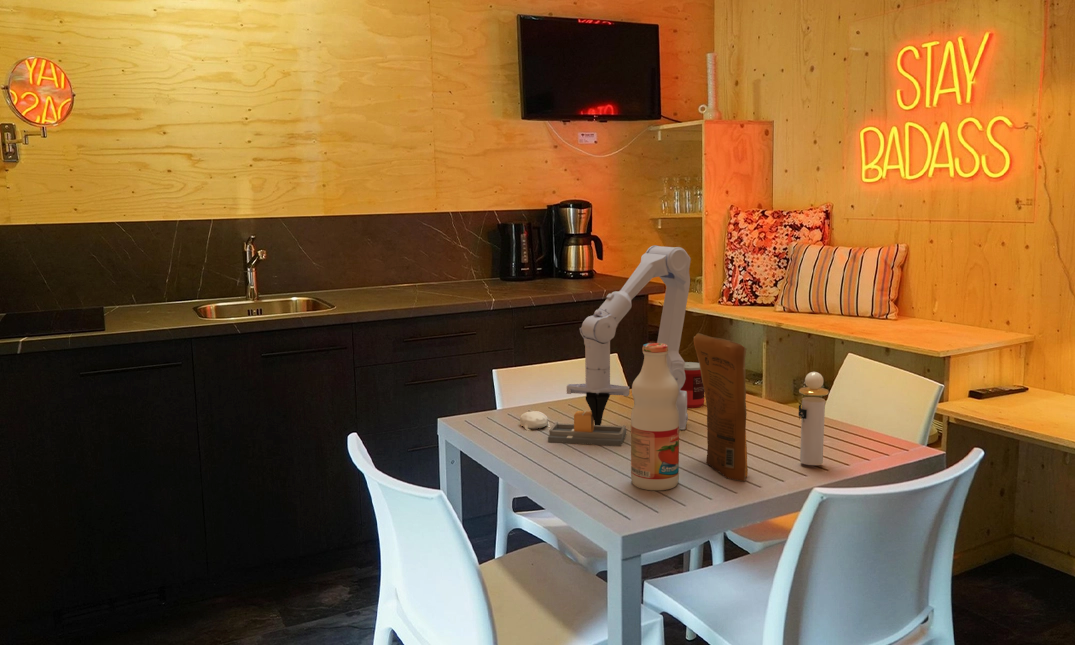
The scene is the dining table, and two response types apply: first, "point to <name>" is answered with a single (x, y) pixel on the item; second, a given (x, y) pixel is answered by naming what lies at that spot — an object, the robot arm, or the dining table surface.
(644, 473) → the fruit juice
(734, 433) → the pancake mix bag
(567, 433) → the fader console
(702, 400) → the canned food
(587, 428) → the fader tab
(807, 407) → the perfume bottle
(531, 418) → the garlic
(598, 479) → the dining table surface
